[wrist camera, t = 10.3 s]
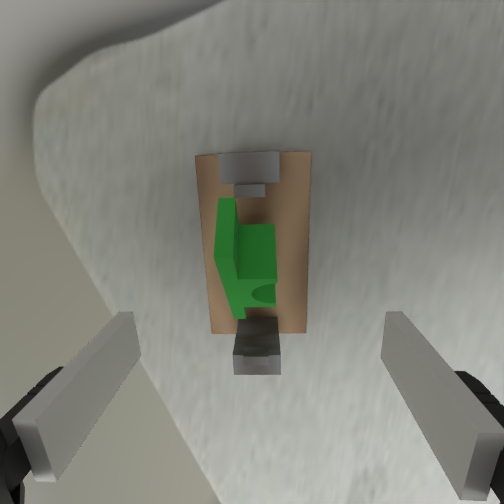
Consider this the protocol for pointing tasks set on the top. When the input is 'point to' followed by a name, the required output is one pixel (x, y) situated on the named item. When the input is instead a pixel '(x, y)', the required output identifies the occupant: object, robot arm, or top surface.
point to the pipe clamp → (245, 260)
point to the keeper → (287, 246)
